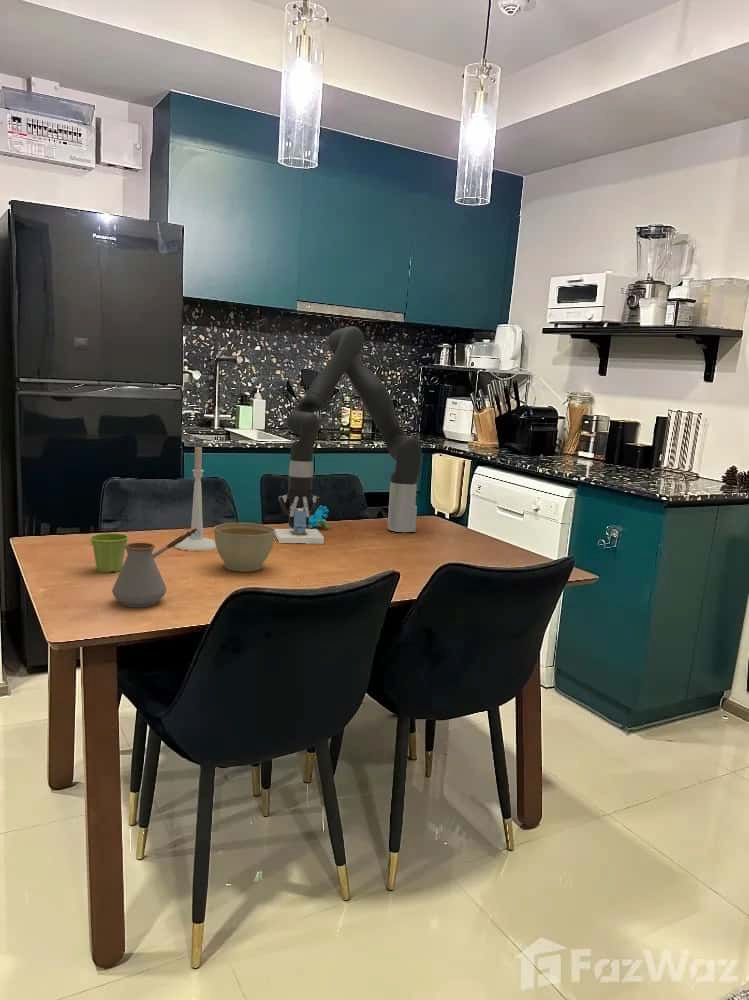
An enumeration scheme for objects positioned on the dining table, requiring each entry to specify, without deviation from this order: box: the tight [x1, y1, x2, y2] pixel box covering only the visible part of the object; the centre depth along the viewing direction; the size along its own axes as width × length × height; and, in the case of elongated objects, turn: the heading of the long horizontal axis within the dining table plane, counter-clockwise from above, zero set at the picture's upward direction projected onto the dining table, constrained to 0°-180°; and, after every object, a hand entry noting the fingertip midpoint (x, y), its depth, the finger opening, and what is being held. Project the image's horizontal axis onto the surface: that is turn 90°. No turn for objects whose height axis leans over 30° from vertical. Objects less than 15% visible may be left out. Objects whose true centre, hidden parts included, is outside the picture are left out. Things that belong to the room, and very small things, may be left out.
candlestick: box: [175, 445, 216, 550], centre depth 216 cm, size 13×13×30 cm
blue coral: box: [309, 504, 330, 529], centre depth 257 cm, size 11×6×10 cm
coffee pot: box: [111, 528, 200, 608], centre depth 166 cm, size 21×12×15 cm, turn 140°
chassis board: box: [274, 528, 325, 545], centre depth 236 cm, size 14×13×2 cm
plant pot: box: [89, 532, 129, 573], centre depth 187 cm, size 9×9×9 cm
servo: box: [291, 507, 307, 533], centre depth 236 cm, size 4×9×7 cm, turn 14°
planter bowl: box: [213, 522, 276, 573], centre depth 196 cm, size 16×16×11 cm
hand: (298, 527), depth 236 cm, fingers closed on servo, 3 cm apart
